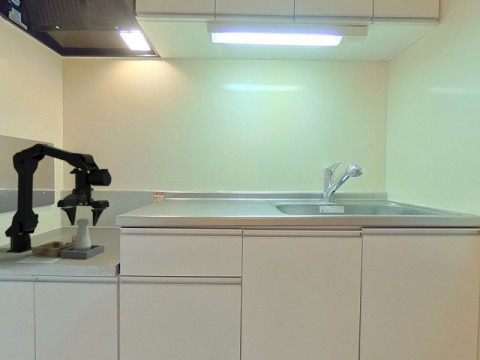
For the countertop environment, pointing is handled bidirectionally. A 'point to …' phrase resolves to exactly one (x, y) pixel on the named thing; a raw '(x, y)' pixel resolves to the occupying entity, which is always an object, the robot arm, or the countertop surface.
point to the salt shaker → (83, 236)
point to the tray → (81, 252)
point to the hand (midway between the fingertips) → (83, 225)
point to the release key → (72, 239)
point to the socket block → (51, 249)
